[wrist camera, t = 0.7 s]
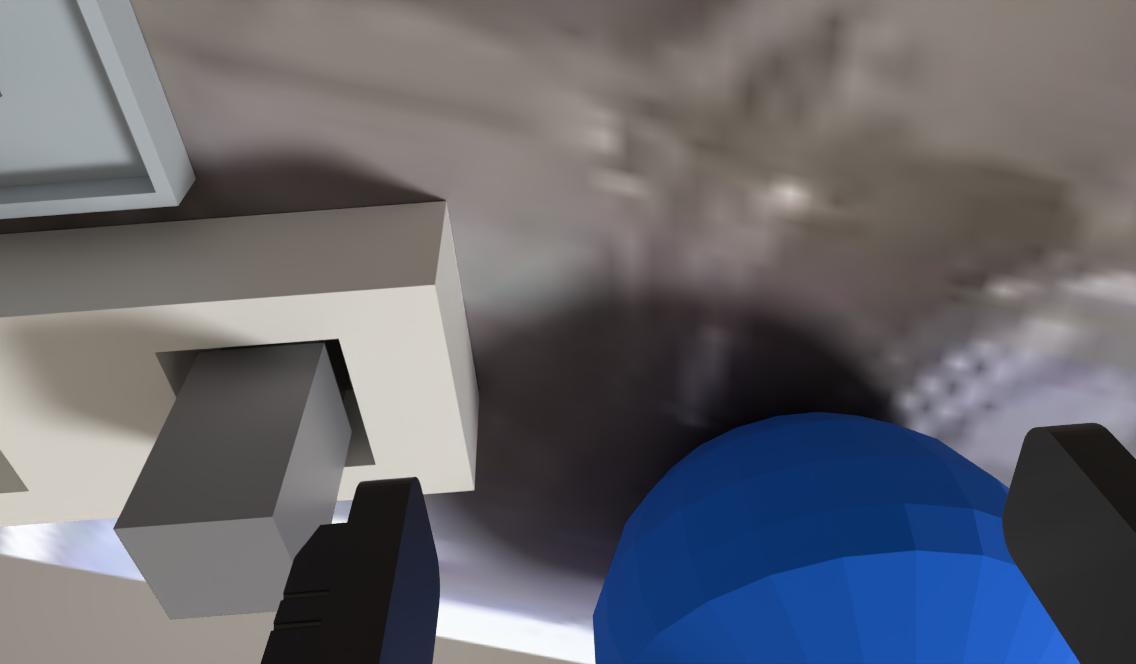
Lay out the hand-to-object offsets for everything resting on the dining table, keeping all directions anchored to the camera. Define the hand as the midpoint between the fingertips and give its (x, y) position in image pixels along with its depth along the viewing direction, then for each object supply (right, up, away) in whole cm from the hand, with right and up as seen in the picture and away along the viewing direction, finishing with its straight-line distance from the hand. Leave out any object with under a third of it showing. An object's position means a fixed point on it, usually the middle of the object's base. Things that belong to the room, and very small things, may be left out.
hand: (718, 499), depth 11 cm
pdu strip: (-18, +2, +19) cm, 26 cm away
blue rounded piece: (+8, -5, +27) cm, 29 cm away
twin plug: (-12, +2, +19) cm, 22 cm away
